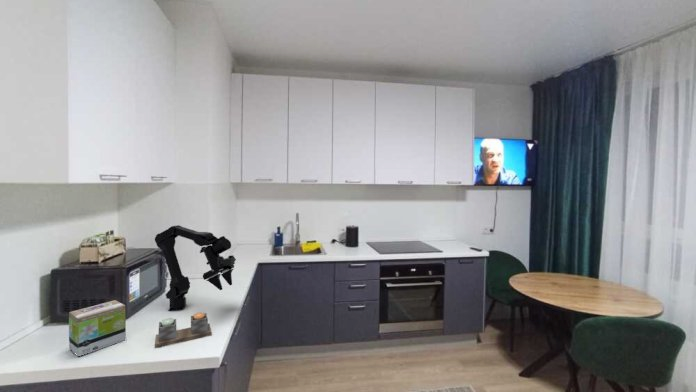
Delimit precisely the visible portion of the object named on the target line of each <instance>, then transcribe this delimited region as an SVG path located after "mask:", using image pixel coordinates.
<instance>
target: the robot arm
mask: <svg viewBox="0 0 696 392" xmlns="http://www.w3.org/2000/svg"><path fill="white" fill-rule="evenodd" d="M178 237H181V238H185V239H188V240H191V241H192V242H193V243H194V244H195V245H198V246H199V247H201V248H200V251H199V254H202V253H203V254H204V255H205V258H206V260H207V262H206V265H209V268H210V270H208V271H206V272H204V273H202V278H203V280H204V281H205V280H206V282H208V283H210V284H212V285H213V286H214V287H216V289H218V290H219V291H222V290H223V285H222V282H221V280H220V278H221V277H222V278H223V279H224V281H226V283H227V284H228V285H229V286H232V285H233V280H232V273H233V271H234V269H235V264H236V263H235V262H236V260H237V259H236V257H235V256H234V255H232V254H231V255H228V257H225V258H224V256H221V254H223V253H224V252H226V251H228V250H230V249H231V248H232V243H231V242H232V241H230V240H229V239H228V238H226V236H225V235H223V236H219V238H218V237H217V236H216V235H214V234H213V232H210V231H209V232H208V231H196V230H194V229H190V228H187V227H184V226H182V225H178V224H177V225H172V226H170V227H168V229H165V230H163V231H162V232H160V233H157V234H156V235H155V237H154V242H155V244H156V246H157V247H158V249H160V250H161V251H162V252H163V255H164V256H163V257H164V259H165V263H166V266H167V269H168V273H169V276H170V281H169V290H168V291H167V292H166V293H165V296H166V297H165V298H166V299H168V300H169V308H168V311H169V312H172V311H183V310H184V308H185V307H186V306H187V297H186V295H187V294H188V293H189V290H190V287H191V282H190V280H189V277H188V276H184V275H183V273H182V270H181V266H180V263H179V260H178V257H177V254H176V250H175V245H176V238H178Z"/></svg>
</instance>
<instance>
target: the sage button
mask: <svg viewBox="0 0 696 392" xmlns="http://www.w3.org/2000/svg"><path fill="white" fill-rule="evenodd" d="M174 319H175V318H173V317H167V318H164V319H162V320H161V321H160V322H161V323H162V327H165V326H170V325H174Z"/></svg>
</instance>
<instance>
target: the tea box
mask: <svg viewBox="0 0 696 392" xmlns="http://www.w3.org/2000/svg"><path fill="white" fill-rule="evenodd" d="M126 327H127V326H126V305H125V304H124V303H121V302H119V301H118V300H116V299H114V300H110V301H106V302H104V303H103V302H102V303H99V304H96V305H93V306H91V305H90V306H87V307H83V308H80V309H77V310H72V311H69V313H68V349H69V350H70V349H71V350H72V351H73V352H74V353H76V354H77V355H78V356H80V357H82V356H81V355H83V356H85V355H87V353H88V354H91V353H93V352H95V350H96V351H99V350H102V349H103V348H107V347H109V346H112V345H115V343H116V344H118V343H121V342H124V341H126V335H127V334H126V333H127V332H126V330H127V329H126ZM123 340H124V341H123ZM71 350H70V351H71ZM72 351H71V352H72ZM92 351H93V352H92ZM73 352H72V353H73ZM74 353H73V354H74ZM84 354H85V355H84ZM77 355H76V356H77ZM78 356H77V357H78Z"/></svg>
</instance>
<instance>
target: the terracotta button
mask: <svg viewBox="0 0 696 392" xmlns="http://www.w3.org/2000/svg"><path fill="white" fill-rule="evenodd" d="M205 313H206V312H203V311H198V312H196V313H194V314H193V315H194V320H199V319H204V318H205Z"/></svg>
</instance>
